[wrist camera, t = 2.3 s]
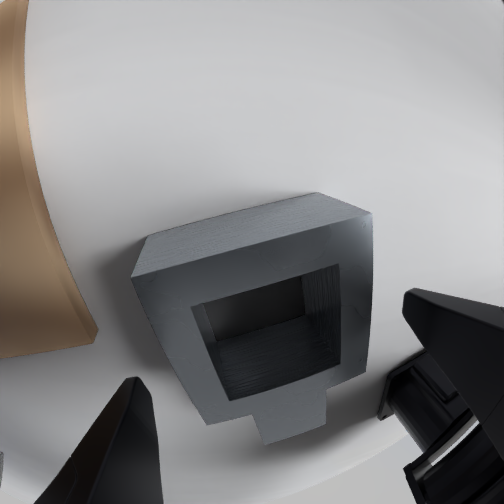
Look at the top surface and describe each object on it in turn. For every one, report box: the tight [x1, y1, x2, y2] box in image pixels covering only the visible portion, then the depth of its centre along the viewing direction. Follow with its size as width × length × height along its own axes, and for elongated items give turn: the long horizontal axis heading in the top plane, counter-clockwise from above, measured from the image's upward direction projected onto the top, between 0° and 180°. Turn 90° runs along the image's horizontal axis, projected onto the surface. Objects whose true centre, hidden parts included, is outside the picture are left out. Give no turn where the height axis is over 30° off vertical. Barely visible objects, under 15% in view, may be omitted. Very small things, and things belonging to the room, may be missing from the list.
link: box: [131, 192, 373, 445], centre depth 10 cm, size 10×7×4 cm
